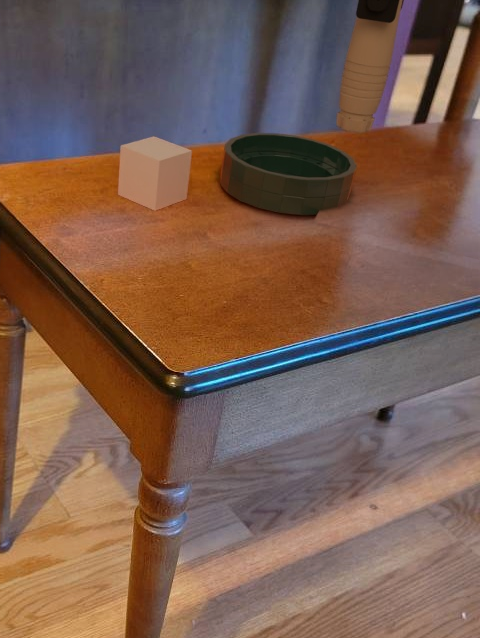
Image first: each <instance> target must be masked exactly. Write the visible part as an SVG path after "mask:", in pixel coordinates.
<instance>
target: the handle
mask: <svg viewBox="0 0 480 638" xmlns="http://www.w3.org/2000/svg"><path fill="white" fill-rule="evenodd" d="M401 5H402V0H400V1H399V5H398V9H397V13H396V17H395V20H394V21H393V22H391V23H386V22H380V21H373V20H367V19H360V18H358V17H357V16H356V19H355V23H354V27H353V31H352V34H351V38H350V42H349V46H348V49H347V53H346V57H345V61H344V65H343V66H344V68H343V70H342V76H341V83H340V91H339V101H338V102H339V103H338V106H339V109H340V111H337V114H336V126H337V127H338V128H340V129H342V131H343V132H346V133H356V134H359V135H360V134H361V135H362V134H365V133H367V132H370V131H371V129H372V128H373V125H374V123H375V119H376V117H374V114H376V113H377V111H378V108H379V106H380V103H381V100H382V98H383V97H382V96H383V94H384V91H385V88H386V85H387V81H388V77H389V73H390V68H391V64H392V59H393V53H394V47H395V42H396V37H397V31H398V26H399V25H398V24H399V20H400V15H401V10H402V9H401Z"/></svg>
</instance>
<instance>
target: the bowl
mask: <svg viewBox="0 0 480 638" xmlns="http://www.w3.org/2000/svg"><path fill="white" fill-rule="evenodd" d="M357 169H358V164H357V163H356V161H355V158H354V157H353V156H351V155H349V154H348V153H347V152H345V151H344V150H343V149H340V148H338V147H336V146H334V145H332V144H329V143H326V142H323V141H320V140H316V139H314V138H310V137H304V136H299V135H293V134H287V133H286V134H285V133H275V132H255V133H254V132H253V133H245V134H243V133H242V134H240V135H237V136H234V137H231V138H229V140H227V142H225V143H224V147H223V153H222V161H221V168H220V174H219V182H220V183H219V184H220V186H221V188H222V189H223V190H224V191H225V192H226V193H227V194H228V195H229V196H231V197H232V198H234V199H236V200H238V201H239V202H242V203H244V204H247V205H249V206H252V207H255V208H258V209H261V210H266V211H270V212H275V213H279V214H286V215H287V214H288V215H295V216H296V215H297V216H315V215H316V216H318V214H319V212H320V211H324V210H329V209H332V208H333V209H334V208H338V207H340V206H341V205H343V204H345V203H347V202H348V200H349V198H350V195H351V191H352V188H353V185H354V179H355V175H356V172H357Z"/></svg>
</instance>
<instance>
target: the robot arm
mask: <svg viewBox="0 0 480 638" xmlns="http://www.w3.org/2000/svg"><path fill="white" fill-rule="evenodd" d="M399 1H400V0H358V2H357V7H356V11H355V16H356V18H357V17H358V18H360V19H367V20H373V21H380V22H386V23H391V22H393V21H394V20H395V17H396V13H397V9H398V5H399ZM404 1H405V0H402V5H401V10H402V9H403V6H404Z"/></svg>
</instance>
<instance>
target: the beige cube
mask: <svg viewBox="0 0 480 638" xmlns="http://www.w3.org/2000/svg"><path fill="white" fill-rule="evenodd" d="M119 152H120V153H119V168H118V169H119V171H118V187H117V195H118V196H120V197H122V198H124V199H126V200H129V201H132V202H134V203H135V204H138V205H140V206H143V207H145V208H147V209H149V210H152V211H154V212H156V211H158V210H161V209H164V208H167V207H169V206H172V205H174V204H178V203H180V202H182V201H185V200H188V199H187V198H188V192H189V191H188V190H189V181H190V175H191V174H190V172H191V165H192V155H193V149H189V148H186V147H184V146H182V145H178V144H176V143H173V142H170V141H167V140H165V139H162V138H159V137H157V136H150V137H147V138H142V139H140V140H135V141H131V142H129V143H125V144H121V145H120V151H119Z"/></svg>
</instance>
